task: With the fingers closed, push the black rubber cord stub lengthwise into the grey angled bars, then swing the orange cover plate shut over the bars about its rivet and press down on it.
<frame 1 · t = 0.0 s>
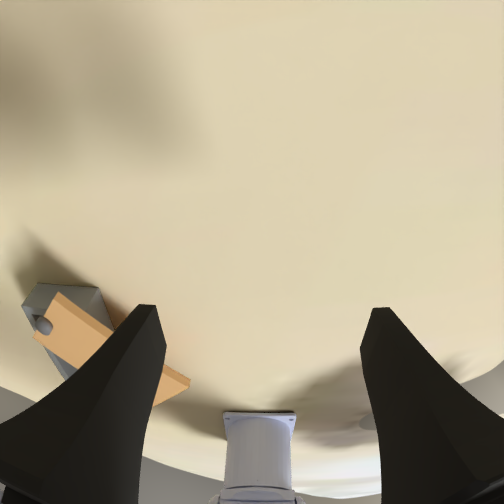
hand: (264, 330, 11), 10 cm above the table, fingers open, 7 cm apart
grey angled bars: (87, 335, 27), on the table
cover: (103, 362, 22), point 4 cm above the table, hinge at 45.0°
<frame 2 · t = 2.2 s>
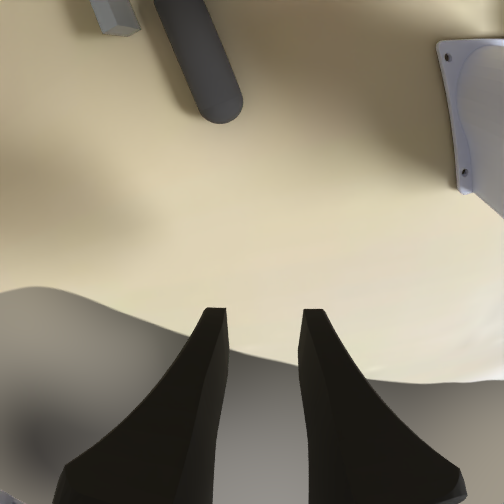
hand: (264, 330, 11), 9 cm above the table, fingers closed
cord: (202, 49, 14), on the table
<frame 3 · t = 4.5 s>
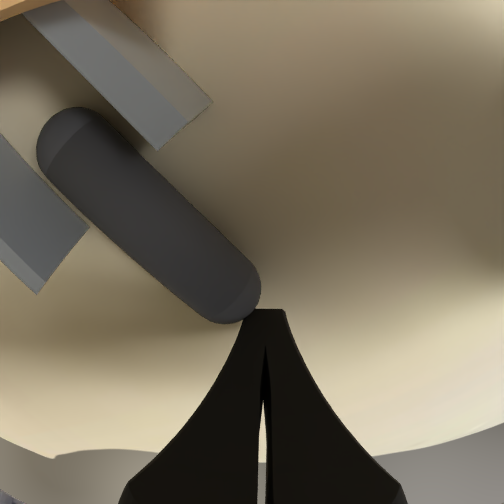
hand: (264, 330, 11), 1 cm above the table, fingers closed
grey angled bars: (16, 58, 7), on the table
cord: (159, 204, 9), on the table, touching gripper
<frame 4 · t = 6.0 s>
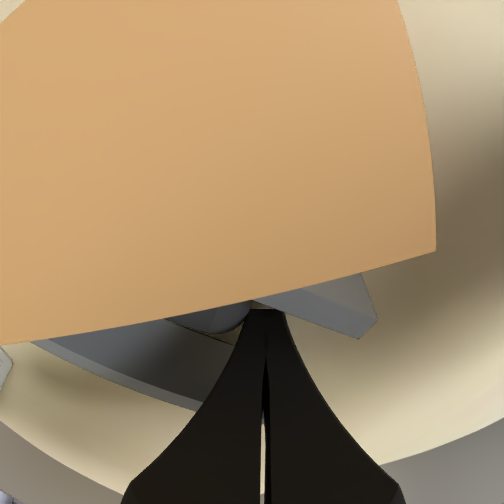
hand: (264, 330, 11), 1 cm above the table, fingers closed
grey angled bars: (144, 257, 10), on the table
cover: (50, 185, 5), point 4 cm above the table, hinge at 45.0°
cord: (134, 254, 10), resting in grey angled bars, tilted 13°, touching gripper
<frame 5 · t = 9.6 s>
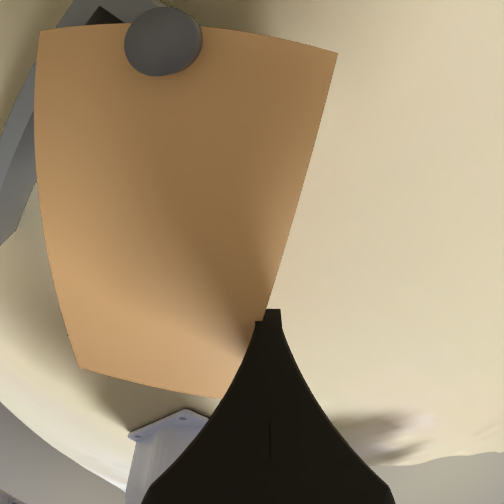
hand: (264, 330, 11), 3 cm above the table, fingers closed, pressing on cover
grey angled bars: (106, 168, 11), on the table
cover: (149, 262, 8), point 4 cm above the table, hinge at 33.0°, touching gripper
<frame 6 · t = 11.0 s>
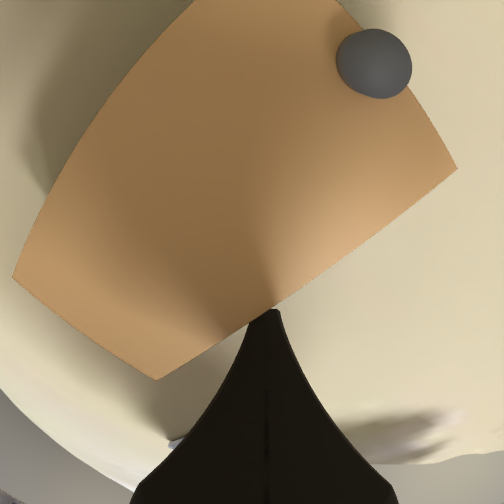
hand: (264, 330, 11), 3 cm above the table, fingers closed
cover: (186, 222, 8), point 4 cm above the table, hinge at -0.9°, touching gripper
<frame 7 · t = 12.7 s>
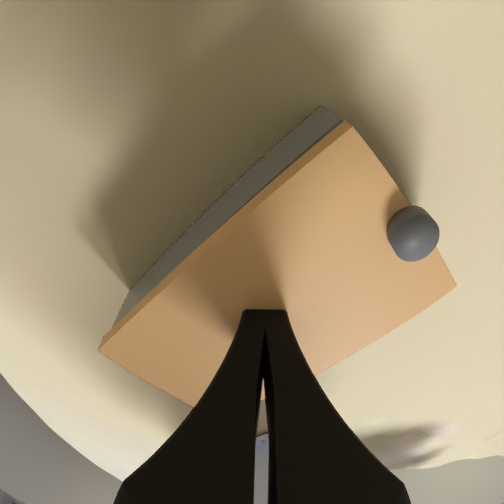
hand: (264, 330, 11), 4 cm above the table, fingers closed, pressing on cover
grey angled bars: (264, 261, 14), on the table
cover: (265, 326, 10), point 4 cm above the table, hinge at -0.9°, touching gripper
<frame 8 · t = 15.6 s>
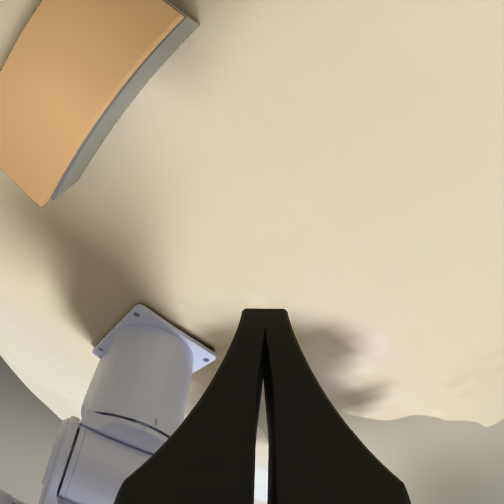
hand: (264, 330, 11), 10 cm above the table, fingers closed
grey angled bars: (89, 74, 14), on the table
cover: (50, 78, 11), point 4 cm above the table, hinge at -0.9°
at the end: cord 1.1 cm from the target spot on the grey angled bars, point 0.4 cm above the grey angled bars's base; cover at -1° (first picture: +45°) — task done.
